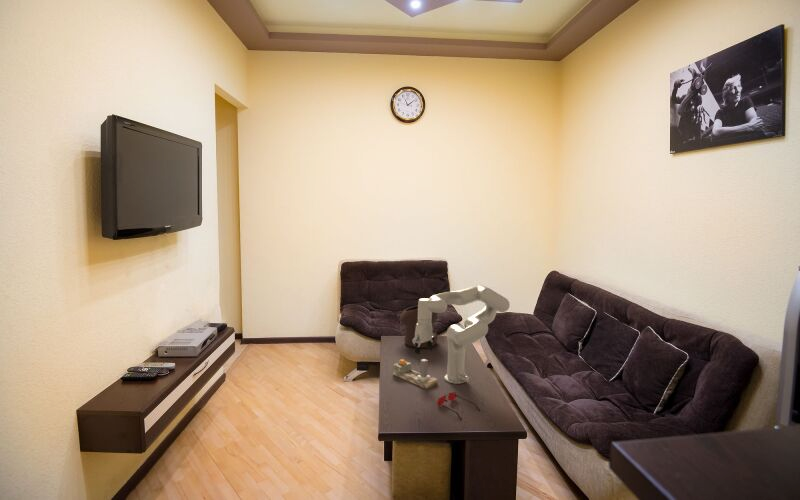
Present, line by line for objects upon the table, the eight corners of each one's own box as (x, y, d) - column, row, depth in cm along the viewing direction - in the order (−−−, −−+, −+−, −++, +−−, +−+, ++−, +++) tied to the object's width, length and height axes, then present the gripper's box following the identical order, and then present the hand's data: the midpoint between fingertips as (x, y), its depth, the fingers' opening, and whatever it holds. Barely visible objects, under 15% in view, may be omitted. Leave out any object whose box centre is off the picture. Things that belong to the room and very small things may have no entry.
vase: (437, 337, 305) (438, 298, 302) (436, 349, 278) (437, 307, 275) (401, 335, 308) (402, 297, 304) (397, 348, 281) (398, 305, 278)
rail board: (437, 384, 224) (437, 373, 223) (426, 388, 218) (426, 378, 217) (404, 370, 243) (404, 360, 242) (393, 374, 236) (393, 364, 236)
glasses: (454, 399, 208) (455, 389, 207) (480, 411, 195) (480, 401, 195) (435, 407, 199) (435, 397, 198) (461, 421, 186) (461, 410, 186)
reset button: (406, 365, 237) (406, 360, 236) (402, 367, 234) (402, 362, 234) (402, 363, 239) (402, 359, 239) (398, 365, 237) (398, 360, 237)
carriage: (430, 380, 225) (430, 360, 224) (423, 383, 221) (424, 362, 220) (423, 377, 229) (423, 357, 227) (417, 380, 225) (417, 360, 224)
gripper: (429, 317, 230) (428, 346, 232) (408, 322, 218) (407, 353, 220) (440, 319, 225) (438, 349, 226) (418, 325, 213) (417, 357, 214)
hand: (423, 351), depth 223 cm, fingers open, 9 cm apart
